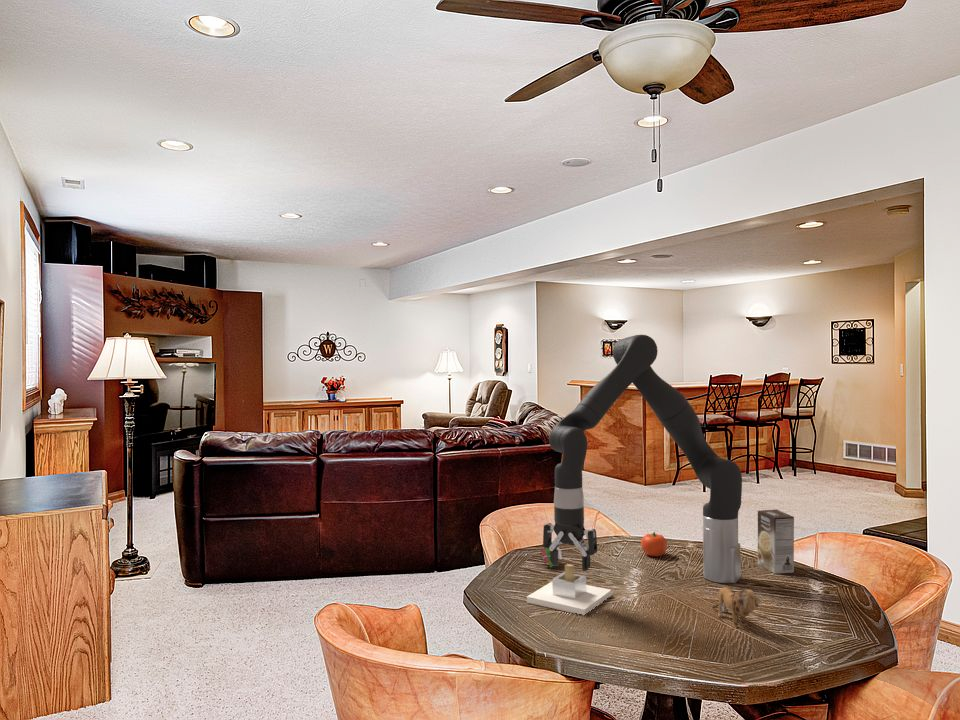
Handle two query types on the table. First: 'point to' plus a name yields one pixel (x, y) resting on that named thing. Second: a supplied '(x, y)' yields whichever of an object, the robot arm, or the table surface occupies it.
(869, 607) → the table surface
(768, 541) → the coffee box
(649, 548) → the tomato
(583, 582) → the steel collar
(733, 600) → the lion figurine
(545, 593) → the post board
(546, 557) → the geometric puzzle
